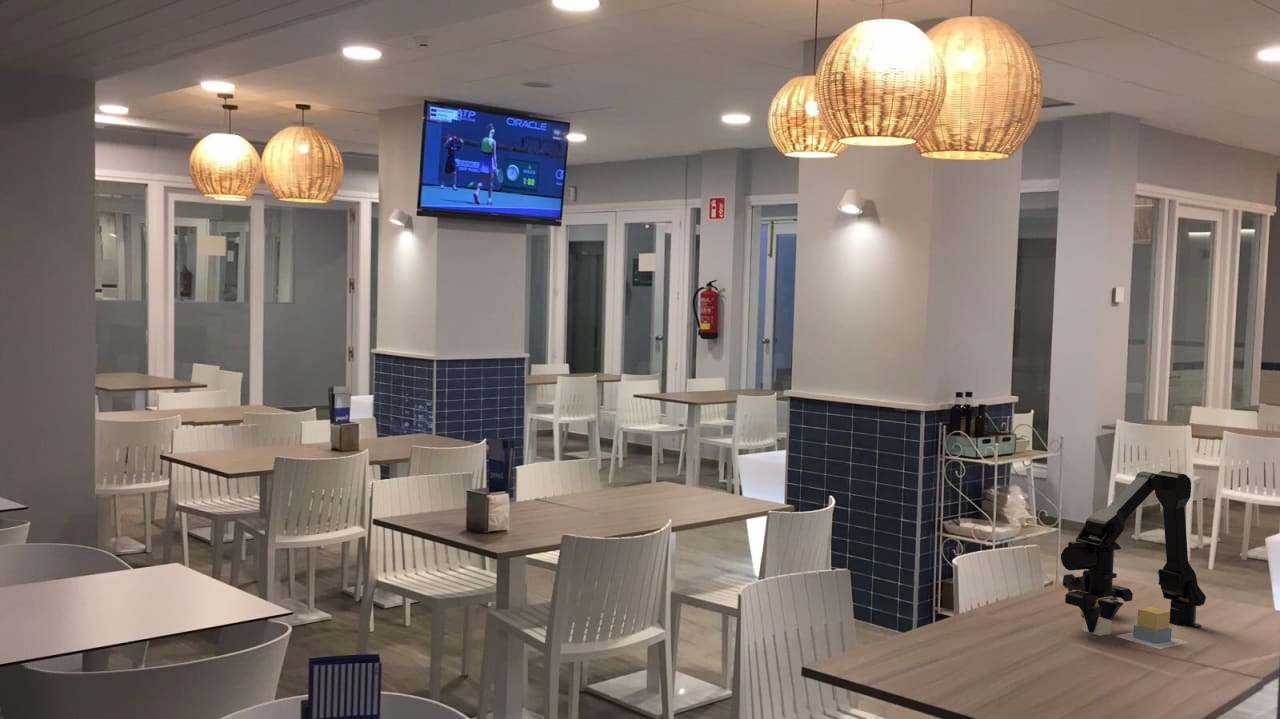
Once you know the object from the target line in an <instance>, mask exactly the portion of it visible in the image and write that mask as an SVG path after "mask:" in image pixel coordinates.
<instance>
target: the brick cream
mask: <svg viewBox="0 0 1280 719" xmlns="http://www.w3.org/2000/svg"><path fill="white" fill-rule="evenodd" d="M1112 623H1113V619H1112V620H1108V619H1105V618H1101V617H1099V618H1098V621H1097V625H1096V628H1095V630H1094V632H1093V633H1091V632H1089V631H1088V627H1087V624H1086V621H1085V617H1084V618H1083V632H1086V633H1088V634H1092V635H1096V636H1098V637H1100V636H1105V635H1106V636H1107V635H1111V634H1112V628H1113V627H1112Z"/></svg>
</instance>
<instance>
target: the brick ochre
mask: <svg viewBox="0 0 1280 719" xmlns="http://www.w3.org/2000/svg"><path fill="white" fill-rule="evenodd" d="M1169 619H1170V610H1169V611H1168V610H1165V609H1160V608H1156V607H1153V606H1148V607H1143V608H1142V607H1141V608H1137V623H1136V625H1137V626H1141V627H1145V628H1148V629H1152V630H1156V631H1157V630H1162V629H1167V628H1170V623H1169Z"/></svg>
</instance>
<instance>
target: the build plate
mask: <svg viewBox="0 0 1280 719" xmlns="http://www.w3.org/2000/svg"><path fill="white" fill-rule="evenodd" d="M1115 637H1116V638H1118V639H1119V638H1121V639H1123V640H1126V641H1129V642H1130V641H1131V642H1134V643H1137V644H1141V645H1144V646H1148V647H1150V648H1151V647H1152V648H1155V649H1159V650H1163V649H1168V648H1172V647H1177V646H1181V645H1187V644H1190V643H1191V642H1190V641H1186V640H1182V639H1178V638H1175V637H1172V636H1171V641H1168V642H1163V643H1158V644H1154V643H1151V642H1147V641H1144V640H1140V639H1137V638H1133V631H1132V632H1126V633H1122V634H1117V635H1115Z"/></svg>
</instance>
